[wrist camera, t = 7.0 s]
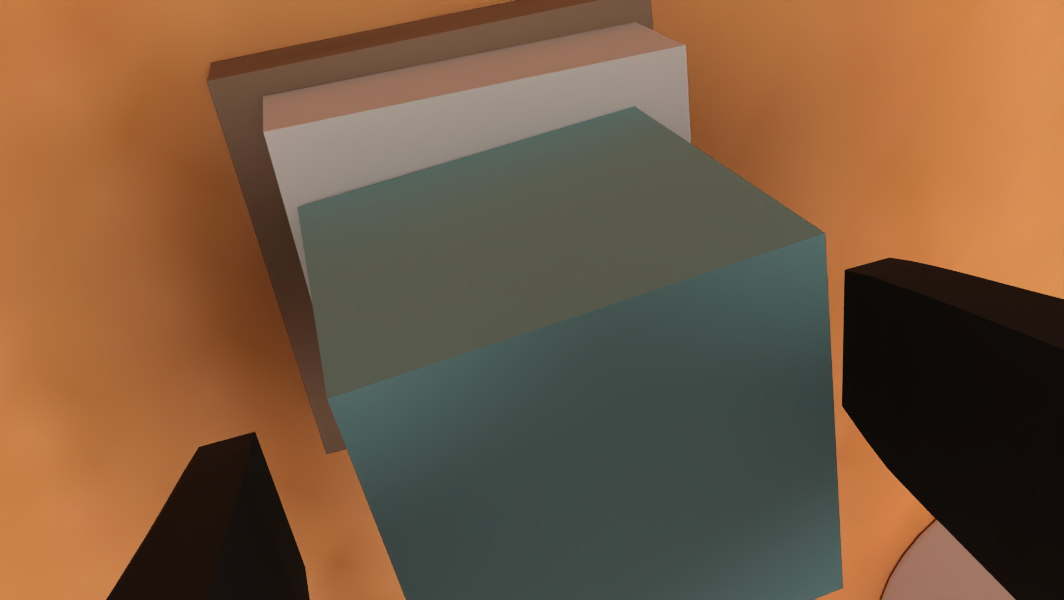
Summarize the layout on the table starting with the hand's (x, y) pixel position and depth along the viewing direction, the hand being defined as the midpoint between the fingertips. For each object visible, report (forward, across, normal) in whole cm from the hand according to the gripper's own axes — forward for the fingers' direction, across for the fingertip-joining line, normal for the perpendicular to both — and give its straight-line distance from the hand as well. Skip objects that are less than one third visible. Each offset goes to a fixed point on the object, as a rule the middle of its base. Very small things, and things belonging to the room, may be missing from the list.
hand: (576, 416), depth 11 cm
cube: (+4, 0, 0) cm, 4 cm away
